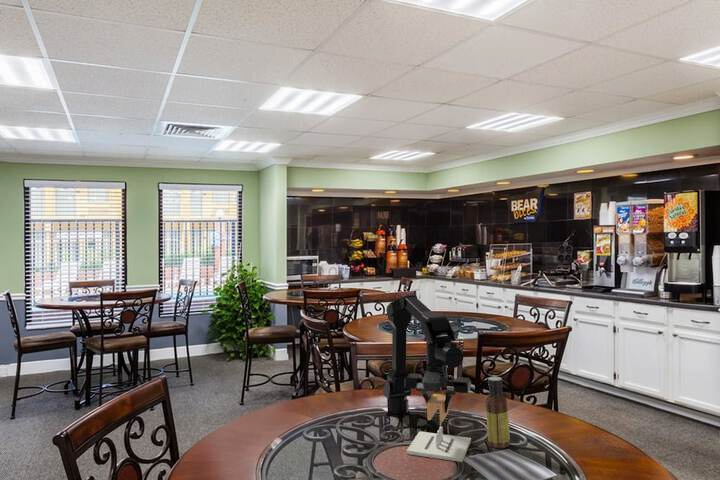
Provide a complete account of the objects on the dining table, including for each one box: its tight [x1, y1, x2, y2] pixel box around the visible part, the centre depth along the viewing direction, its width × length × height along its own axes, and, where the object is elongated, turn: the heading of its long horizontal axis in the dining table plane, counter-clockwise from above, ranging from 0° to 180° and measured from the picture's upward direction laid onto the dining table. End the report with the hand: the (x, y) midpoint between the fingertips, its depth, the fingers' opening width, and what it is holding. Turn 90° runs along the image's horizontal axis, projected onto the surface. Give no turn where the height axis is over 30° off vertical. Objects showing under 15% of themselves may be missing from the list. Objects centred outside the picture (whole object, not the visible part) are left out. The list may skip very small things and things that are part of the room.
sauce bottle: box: [485, 376, 511, 449], centre depth 150 cm, size 7×6×20 cm
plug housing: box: [426, 393, 449, 423], centre depth 149 cm, size 8×4×5 cm, turn 158°
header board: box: [406, 426, 472, 463], centre depth 149 cm, size 16×14×5 cm
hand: (438, 411), depth 149 cm, fingers closed on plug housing, 4 cm apart
